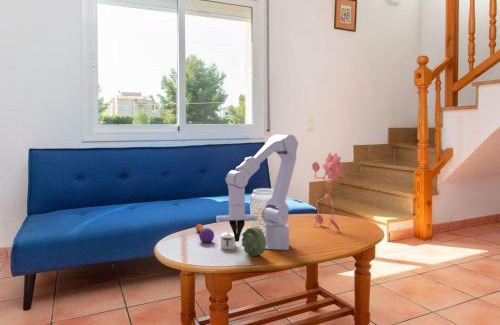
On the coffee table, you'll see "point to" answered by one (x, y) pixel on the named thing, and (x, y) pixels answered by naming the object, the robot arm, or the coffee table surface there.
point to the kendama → (205, 234)
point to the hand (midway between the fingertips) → (236, 240)
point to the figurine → (333, 171)
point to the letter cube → (227, 241)
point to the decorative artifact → (253, 241)
